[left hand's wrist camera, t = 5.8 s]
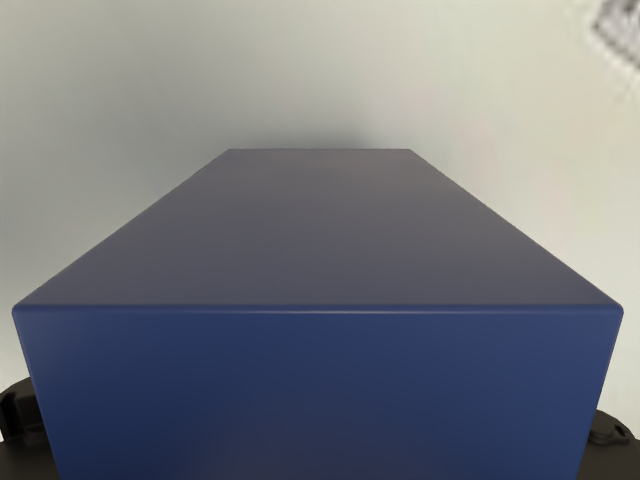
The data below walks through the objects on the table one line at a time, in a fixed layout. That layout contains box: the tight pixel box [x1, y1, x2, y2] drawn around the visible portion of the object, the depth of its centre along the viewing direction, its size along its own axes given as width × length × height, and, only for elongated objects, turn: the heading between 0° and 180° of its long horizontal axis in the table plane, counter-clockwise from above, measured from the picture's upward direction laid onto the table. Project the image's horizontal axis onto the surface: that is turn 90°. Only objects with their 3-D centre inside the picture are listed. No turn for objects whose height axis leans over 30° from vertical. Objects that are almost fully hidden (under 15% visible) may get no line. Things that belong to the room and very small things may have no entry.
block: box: [12, 149, 624, 480], centre depth 12 cm, size 7×9×12 cm
